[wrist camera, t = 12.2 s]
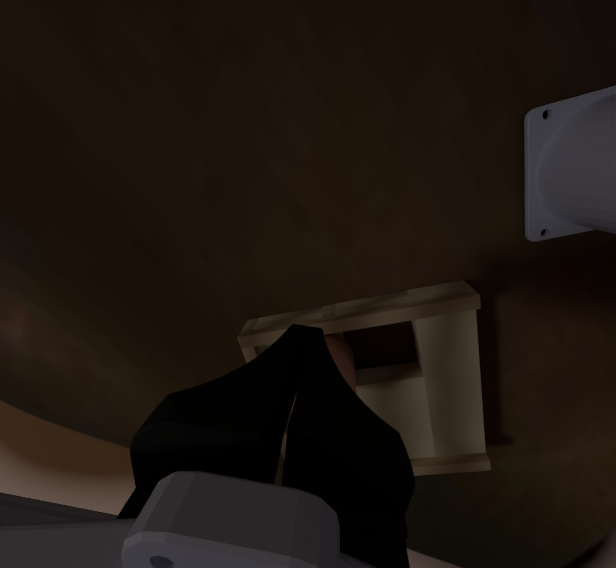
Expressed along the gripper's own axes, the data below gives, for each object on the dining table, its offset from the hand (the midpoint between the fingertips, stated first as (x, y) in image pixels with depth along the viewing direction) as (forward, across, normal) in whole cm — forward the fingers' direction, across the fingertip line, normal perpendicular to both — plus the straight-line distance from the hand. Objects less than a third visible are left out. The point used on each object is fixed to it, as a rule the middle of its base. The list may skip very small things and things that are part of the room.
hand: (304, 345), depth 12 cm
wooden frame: (+10, -5, +10) cm, 15 cm away
